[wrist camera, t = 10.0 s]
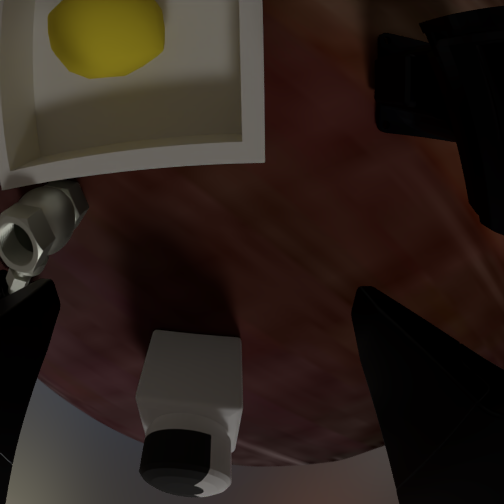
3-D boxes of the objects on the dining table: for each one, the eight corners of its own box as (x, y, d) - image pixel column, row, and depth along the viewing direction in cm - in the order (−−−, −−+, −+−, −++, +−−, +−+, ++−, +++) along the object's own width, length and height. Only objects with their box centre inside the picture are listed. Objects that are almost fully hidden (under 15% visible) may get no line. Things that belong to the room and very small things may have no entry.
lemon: (192, 15, 14) (189, -8, 9) (146, 94, 16) (126, 102, 11) (90, -19, 11) (56, -44, 7) (49, 58, 13) (3, 59, 9)
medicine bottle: (159, 382, 28) (139, 496, 17) (153, 327, 24) (118, 460, 14) (234, 389, 28) (235, 505, 18) (241, 335, 25) (245, 474, 14)
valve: (47, 151, 17) (-1, 264, 21) (-13, 179, 12) (-43, 307, 15) (116, 209, 20) (53, 309, 24) (73, 257, 14) (20, 362, 18)
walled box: (254, -72, 11) (258, -107, 7) (258, 147, 18) (264, 162, 14) (35, -25, 11) (-1, -38, 7) (39, 169, 18) (2, 190, 14)
